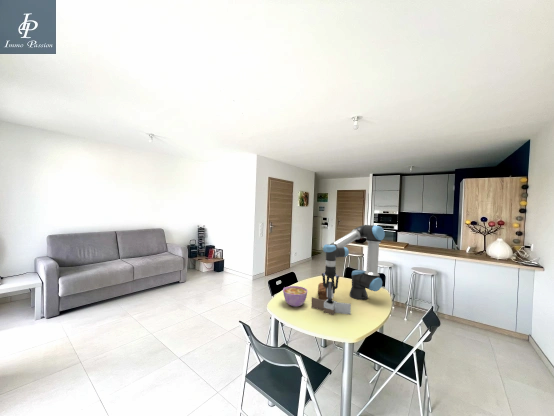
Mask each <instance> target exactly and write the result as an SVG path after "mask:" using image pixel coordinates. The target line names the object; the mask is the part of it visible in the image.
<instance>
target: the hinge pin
mask: <svg viewBox="0 0 554 416" xmlns="http://www.w3.org/2000/svg"><path fill="white" fill-rule="evenodd" d="M332 289H333V288H332V281H329V282H328V303H332V300H333V298H331V297H332Z"/></svg>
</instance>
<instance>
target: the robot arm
mask: <svg viewBox="0 0 554 416" xmlns="http://www.w3.org/2000/svg"><path fill="white" fill-rule="evenodd" d="M385 236H386V233H385V230H384V228H383V227H382V226H379V225H375V224H374V225H371V224H364V225H360V226H358V227H355V228H354V229H352V230H351V231H350V232H349V233H347V234H345V235H344V236H342V237H340V238H338V239H336V240H335V241H333V242H331V243H330V244H329V243H328V244H327V243H326V244H324V245H323V246H322V247H323V248H322V251H323V252H324V253H325V271H324V272H322V273H321V276H322V283H323V286H324V287H325V288H326V292H327V297H328V282H330V280H331V282H332V297H331V298H332V299H334V295H335V292H336V290H337V289H338V288H339V279H340V275H338V274H337V272H336V271H337V270H336V269H337V267H336V266H337V265H336V264H337V262H336V261H337V258H346V257H348V256H349V255H350V254H349V253H350V252H349V248H348V247H346V246H347V245H349V244H351V243H353V242H354V241H356V240H360V239H366V240H365V241H366V242H367V256H366V271H365V270H360V269H355V270H352V272H351V288H350V290H349V297H351V298H353V299H355V300H361V301H362V300H363V301H364V300H368V292H367V290H369V291H372V292H378V291H380V289H382V286H383V280H382V278H381V277H380V274H379V272H378V269H379V256H380V255H379V251H380V244H381V243H382V240H384V238H385Z"/></svg>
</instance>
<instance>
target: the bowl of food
mask: <svg viewBox="0 0 554 416" xmlns="http://www.w3.org/2000/svg"><path fill="white" fill-rule="evenodd" d="M282 292H283V297H284V302H285V303H287V304H288V305H289V306H291V307H295V308H296V307H300V306H302V305H304V304H305V302H306V300H307V296H308V292H309V290H308V289H307V288H306V287H303V286H298V285H289V286H286V287H285V286H284V287H283V289H282Z"/></svg>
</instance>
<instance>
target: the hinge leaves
mask: <svg viewBox="0 0 554 416" xmlns="http://www.w3.org/2000/svg"><path fill="white" fill-rule="evenodd" d="M351 305H352V304H351V303H349V302H337V301H336V300H333V299H332V303H328V299H327V300H321V299H318V297H311V308H313V309H315V310H316V309H317V310H318V311H319V310H320V311H323V314H327V315H331V316H334V315H335V314H342V315H352V313H351V311H352V310H351V308H352V306H351Z"/></svg>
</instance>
